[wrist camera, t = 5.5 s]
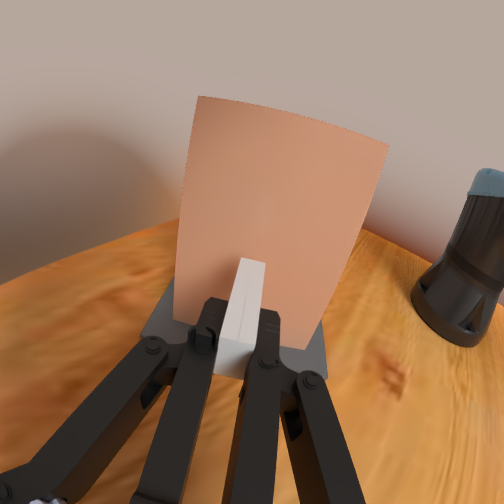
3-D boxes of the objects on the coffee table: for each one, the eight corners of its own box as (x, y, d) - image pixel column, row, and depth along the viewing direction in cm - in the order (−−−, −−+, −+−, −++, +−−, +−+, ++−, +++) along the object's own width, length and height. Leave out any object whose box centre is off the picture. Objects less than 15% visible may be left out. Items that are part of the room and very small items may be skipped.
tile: (304, 350, 23) (389, 145, 14) (172, 319, 23) (198, 95, 14) (303, 330, 25) (376, 141, 16) (181, 302, 25) (208, 97, 16)
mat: (326, 379, 21) (327, 377, 20) (140, 337, 21) (140, 334, 20) (309, 249, 42) (309, 246, 42) (208, 224, 42) (208, 222, 41)
